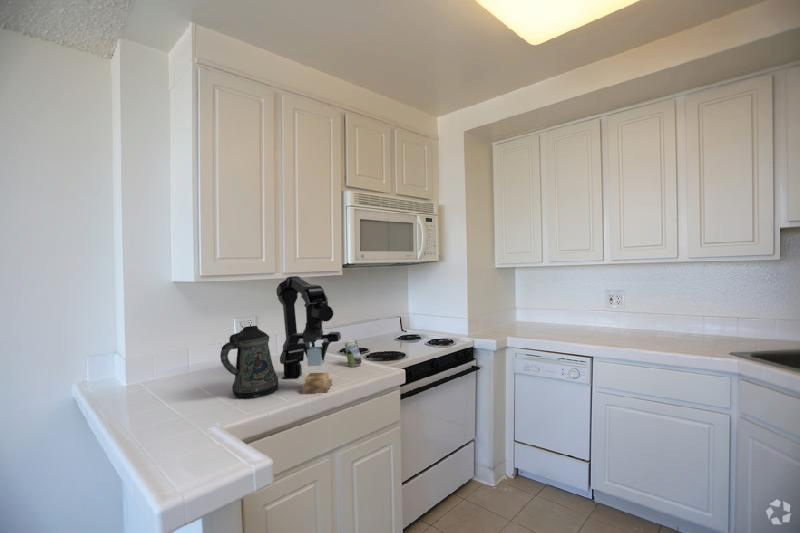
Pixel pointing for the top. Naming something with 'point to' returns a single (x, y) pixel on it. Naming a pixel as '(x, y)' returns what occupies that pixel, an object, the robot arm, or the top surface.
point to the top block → (316, 379)
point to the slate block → (314, 356)
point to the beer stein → (250, 364)
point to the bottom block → (317, 388)
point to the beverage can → (352, 353)
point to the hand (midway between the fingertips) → (316, 360)
